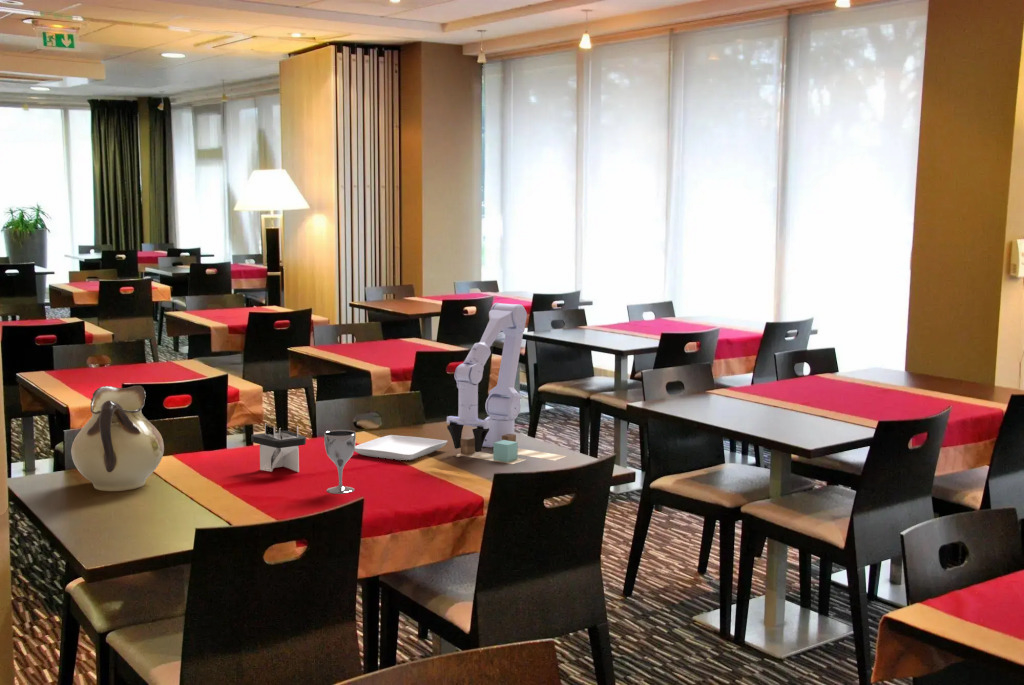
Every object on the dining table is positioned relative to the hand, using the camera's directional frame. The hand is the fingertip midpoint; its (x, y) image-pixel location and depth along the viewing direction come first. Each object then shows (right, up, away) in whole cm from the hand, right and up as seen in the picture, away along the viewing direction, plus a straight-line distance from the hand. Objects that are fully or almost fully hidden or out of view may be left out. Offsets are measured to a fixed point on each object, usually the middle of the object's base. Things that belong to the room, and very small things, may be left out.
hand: (467, 449), depth 312 cm
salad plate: (-20, -2, +3) cm, 21 cm away
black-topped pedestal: (-51, -4, -20) cm, 55 cm away
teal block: (+11, -2, -7) cm, 14 cm away
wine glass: (-31, -7, -40) cm, 51 cm away
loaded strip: (+7, -3, -5) cm, 9 cm away
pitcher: (-88, -6, -38) cm, 96 cm away
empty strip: (+19, -2, +1) cm, 19 cm away
